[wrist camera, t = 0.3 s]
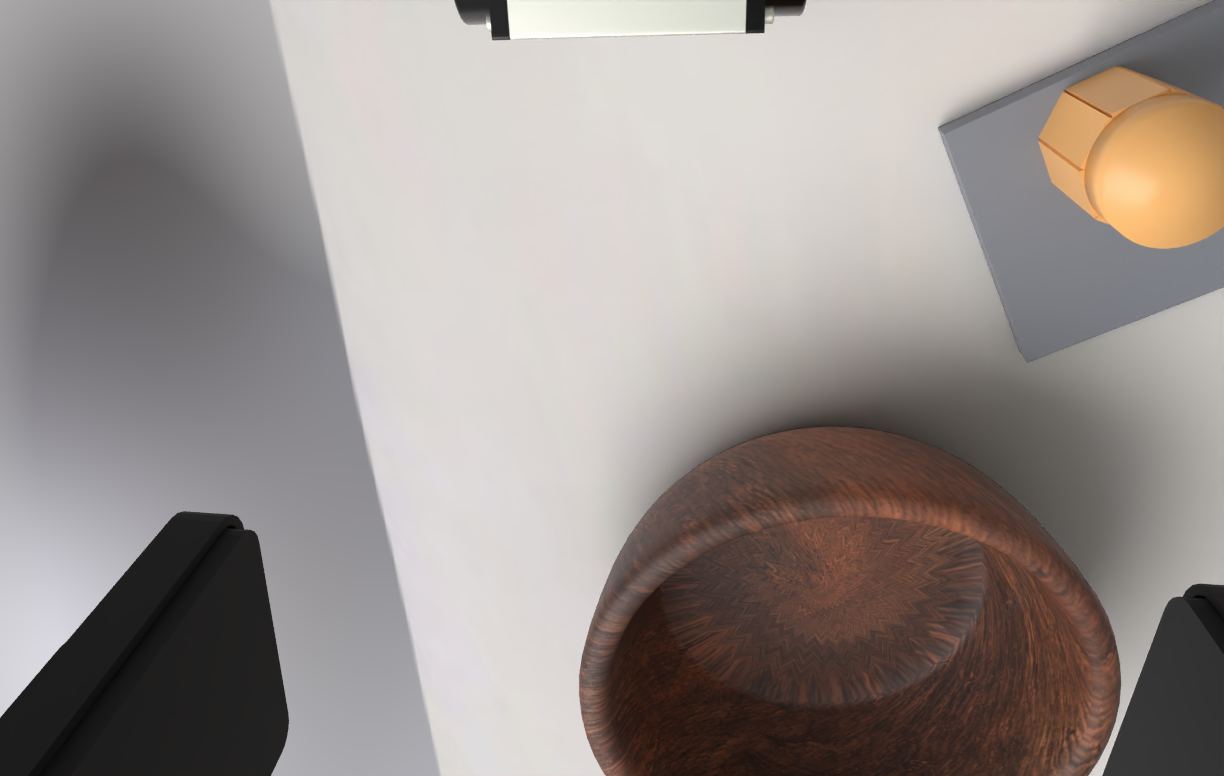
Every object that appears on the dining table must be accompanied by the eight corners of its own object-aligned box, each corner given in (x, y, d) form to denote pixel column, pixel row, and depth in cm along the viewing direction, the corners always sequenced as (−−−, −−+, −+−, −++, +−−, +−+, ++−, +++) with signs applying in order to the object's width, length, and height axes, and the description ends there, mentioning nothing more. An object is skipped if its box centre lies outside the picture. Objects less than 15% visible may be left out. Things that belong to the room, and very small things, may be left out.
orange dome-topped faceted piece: (1026, 106, 40) (1086, 146, 34) (1156, 47, 39) (1243, 78, 32) (1061, 214, 42) (1124, 270, 36) (1185, 161, 41) (1273, 211, 34)
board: (937, 128, 42) (970, 160, 37) (1393, -83, 37) (1503, -79, 32) (1020, 351, 46) (1059, 408, 41) (1435, 190, 42) (1537, 232, 36)
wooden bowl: (670, 765, 62) (665, 916, 53) (534, 445, 51) (499, 565, 42) (1075, 696, 56) (1148, 851, 47) (1016, 324, 46) (1095, 432, 37)
